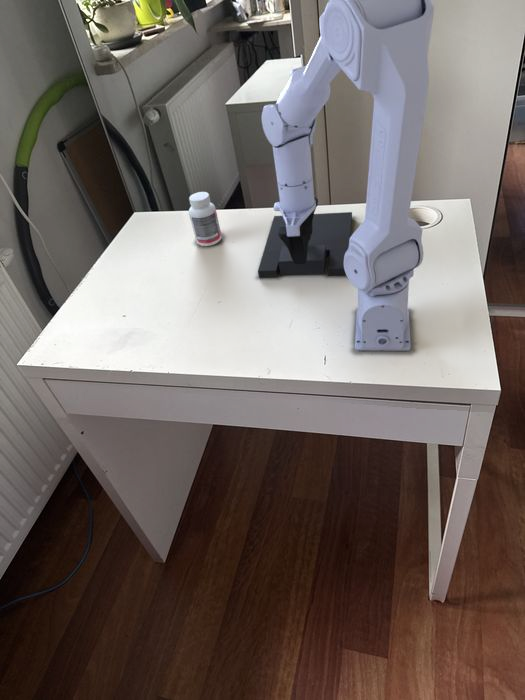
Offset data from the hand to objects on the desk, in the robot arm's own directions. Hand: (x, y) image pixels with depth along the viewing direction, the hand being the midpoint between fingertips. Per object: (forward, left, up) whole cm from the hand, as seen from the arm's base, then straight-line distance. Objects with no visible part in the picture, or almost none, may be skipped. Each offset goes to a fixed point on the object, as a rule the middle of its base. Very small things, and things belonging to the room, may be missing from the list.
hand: (302, 250), depth 93 cm
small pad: (0, 0, -3) cm, 4 cm away
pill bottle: (+11, +21, -4) cm, 24 cm away
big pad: (+7, 0, -3) cm, 8 cm away
